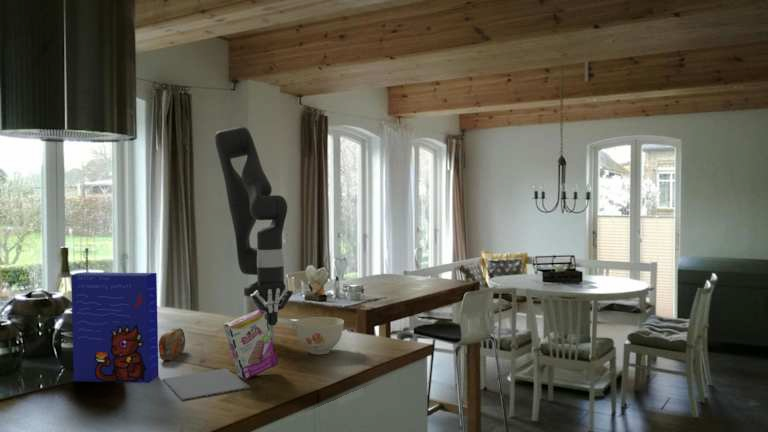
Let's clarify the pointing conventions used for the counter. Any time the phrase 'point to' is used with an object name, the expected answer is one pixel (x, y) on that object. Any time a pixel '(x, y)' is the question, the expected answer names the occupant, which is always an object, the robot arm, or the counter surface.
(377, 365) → the counter surface
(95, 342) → the cereal box
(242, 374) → the candy bar box
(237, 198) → the robot arm
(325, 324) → the bowl
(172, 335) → the tin
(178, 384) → the mat
